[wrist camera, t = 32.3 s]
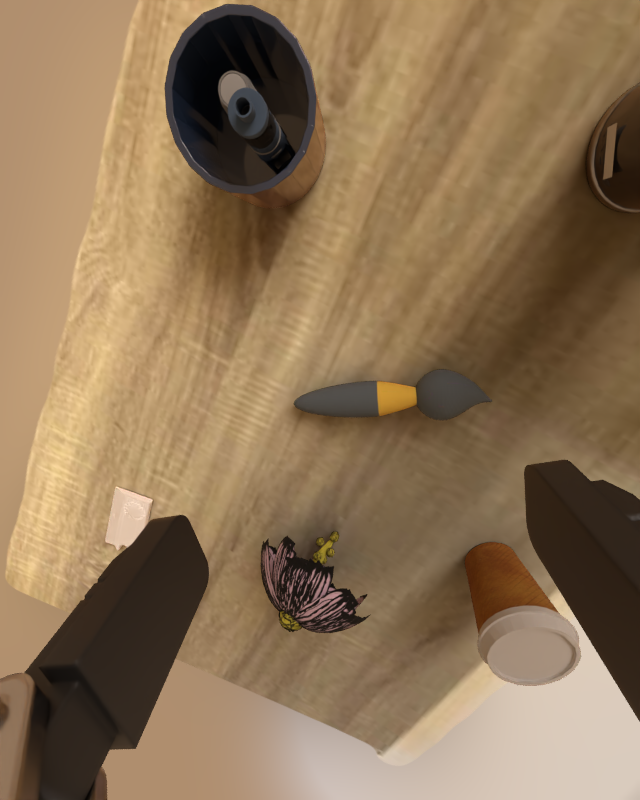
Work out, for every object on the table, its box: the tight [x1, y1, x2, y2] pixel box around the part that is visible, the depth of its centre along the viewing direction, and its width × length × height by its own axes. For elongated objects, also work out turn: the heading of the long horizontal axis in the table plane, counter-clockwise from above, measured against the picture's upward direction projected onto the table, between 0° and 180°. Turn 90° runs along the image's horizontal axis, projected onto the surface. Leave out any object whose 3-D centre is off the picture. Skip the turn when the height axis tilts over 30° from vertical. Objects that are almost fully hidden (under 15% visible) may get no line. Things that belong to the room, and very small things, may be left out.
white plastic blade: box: [105, 487, 153, 550], centre depth 49 cm, size 5×15×1 cm, turn 159°
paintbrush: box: [294, 369, 492, 420], centre depth 37 cm, size 20×5×5 cm, turn 102°
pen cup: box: [165, 4, 326, 208], centre depth 27 cm, size 10×10×9 cm
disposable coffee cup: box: [465, 542, 581, 686], centre depth 41 cm, size 10×10×12 cm
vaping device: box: [218, 71, 295, 174], centre depth 25 cm, size 3×5×12 cm, turn 37°
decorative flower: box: [261, 532, 370, 633], centre depth 44 cm, size 14×12×15 cm
